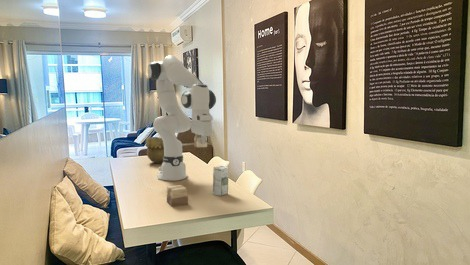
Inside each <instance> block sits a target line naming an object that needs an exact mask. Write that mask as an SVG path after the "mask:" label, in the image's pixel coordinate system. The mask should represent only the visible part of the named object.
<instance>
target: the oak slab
mask: <svg viewBox="0 0 470 265" xmlns="http://www.w3.org/2000/svg"><path fill="white" fill-rule="evenodd" d="M166 191H167V192H166V196H167V195H168V196H170V197H171V198H172V199H173V198H180V197H186V196H187V192H188V190H187V187H185V186H184V185H181V184H178V185H171V186H170V185H169V186H167V187H166Z"/></svg>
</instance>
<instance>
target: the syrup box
mask: <svg viewBox="0 0 470 265" xmlns="http://www.w3.org/2000/svg"><path fill="white" fill-rule="evenodd" d="M212 171H213V174H212V175H213V177H212V178H213V179H212V194H213V195H216V196H219V197H222V196H225V195H228V194H229V167H228V166H224V165H218V166H214V167H213V170H212Z"/></svg>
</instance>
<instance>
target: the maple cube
mask: <svg viewBox="0 0 470 265" xmlns="http://www.w3.org/2000/svg"><path fill="white" fill-rule="evenodd" d="M201 139H202V138H201V135H200V136H194V141H193V143H194V147H195V148H207V147H208V136H206V140H205V144H201Z"/></svg>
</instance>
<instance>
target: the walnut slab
mask: <svg viewBox="0 0 470 265" xmlns="http://www.w3.org/2000/svg"><path fill="white" fill-rule="evenodd" d="M166 203H167V204H168V205H169V206H170V207H172V208H173V207H180V206H186V205H188V206H189V196H186V197H180V198H173V199H172V198H171V197H170V196H168V195H167V194H166Z"/></svg>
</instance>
